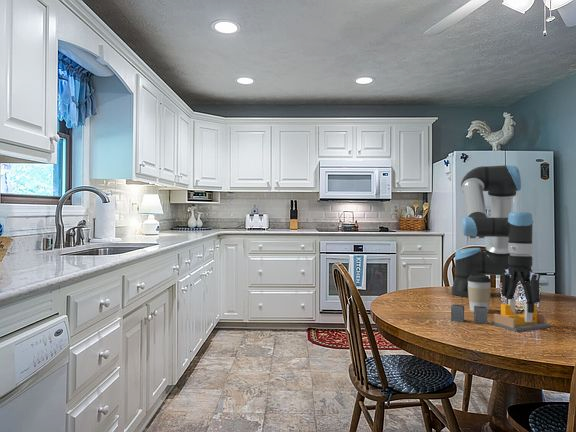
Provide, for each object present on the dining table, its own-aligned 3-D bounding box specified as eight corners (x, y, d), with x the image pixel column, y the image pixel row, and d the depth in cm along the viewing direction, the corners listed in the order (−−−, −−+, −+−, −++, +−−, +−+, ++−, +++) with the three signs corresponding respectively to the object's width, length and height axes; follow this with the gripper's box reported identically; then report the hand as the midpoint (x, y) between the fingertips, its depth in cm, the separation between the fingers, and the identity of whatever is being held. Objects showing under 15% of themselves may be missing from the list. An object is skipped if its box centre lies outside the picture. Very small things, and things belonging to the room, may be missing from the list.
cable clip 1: (451, 320, 146) (451, 305, 146) (452, 318, 148) (452, 304, 148) (462, 322, 143) (462, 307, 143) (464, 320, 146) (464, 305, 146)
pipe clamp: (508, 324, 136) (508, 306, 136) (500, 321, 141) (500, 303, 141) (540, 324, 137) (540, 306, 137) (531, 321, 142) (531, 303, 142)
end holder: (523, 320, 147) (523, 309, 147) (549, 327, 137) (549, 315, 137) (491, 324, 141) (491, 313, 141) (516, 331, 132) (516, 319, 132)
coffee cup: (490, 314, 155) (490, 277, 155) (465, 311, 160) (465, 275, 160) (492, 310, 163) (492, 274, 163) (468, 307, 167) (468, 272, 167)
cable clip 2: (475, 322, 142) (475, 307, 142) (474, 320, 145) (474, 305, 145) (487, 324, 141) (487, 308, 141) (485, 321, 144) (486, 306, 144)
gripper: (490, 252, 147) (490, 313, 147) (537, 257, 129) (537, 327, 129) (504, 252, 149) (504, 312, 149) (553, 257, 132) (553, 325, 132)
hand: (519, 319), depth 139 cm, fingers open, 6 cm apart
